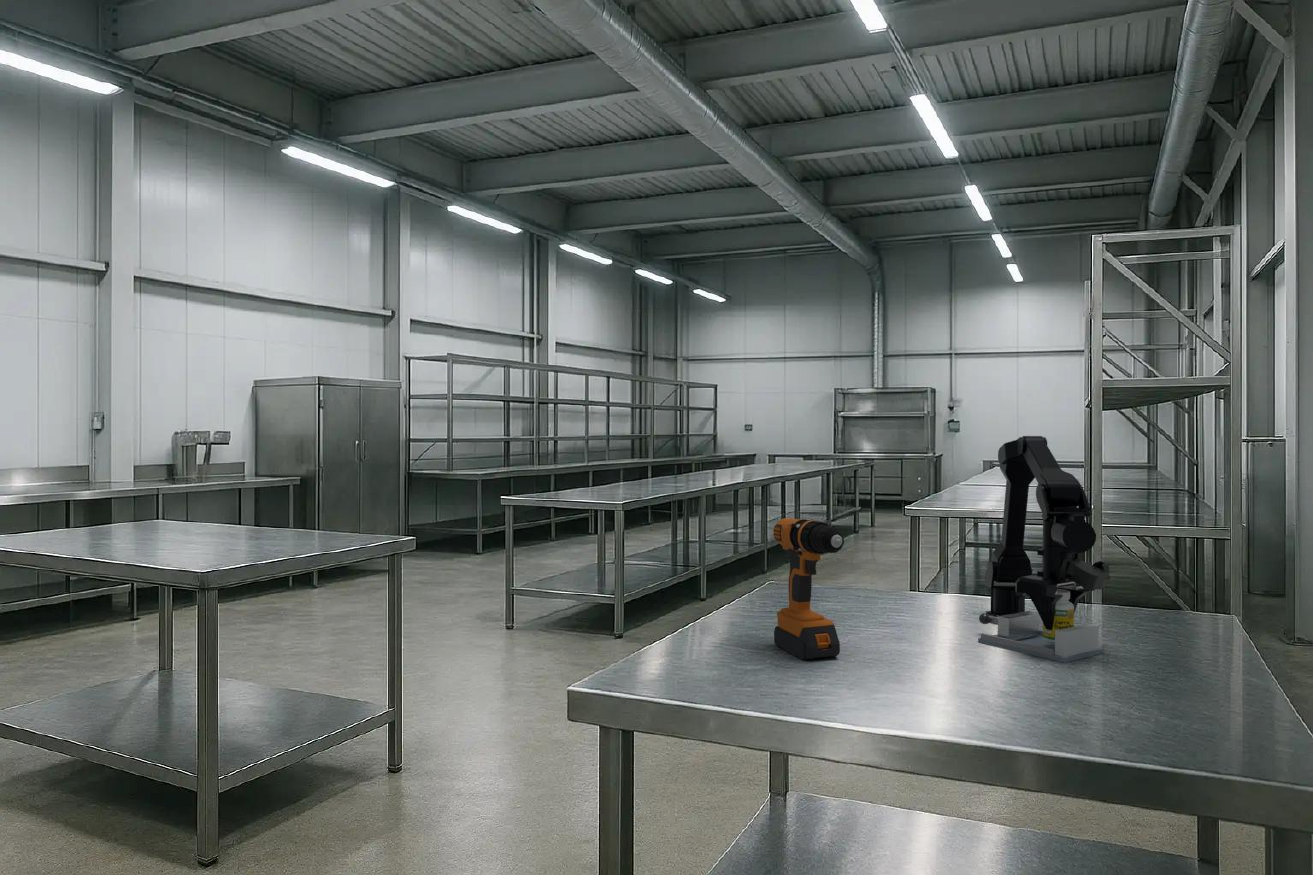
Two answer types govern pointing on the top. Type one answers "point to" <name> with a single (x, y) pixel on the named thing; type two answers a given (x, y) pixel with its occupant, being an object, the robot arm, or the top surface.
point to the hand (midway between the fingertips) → (1057, 627)
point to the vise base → (1066, 647)
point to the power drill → (805, 589)
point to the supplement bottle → (1060, 616)
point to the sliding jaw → (1014, 624)
